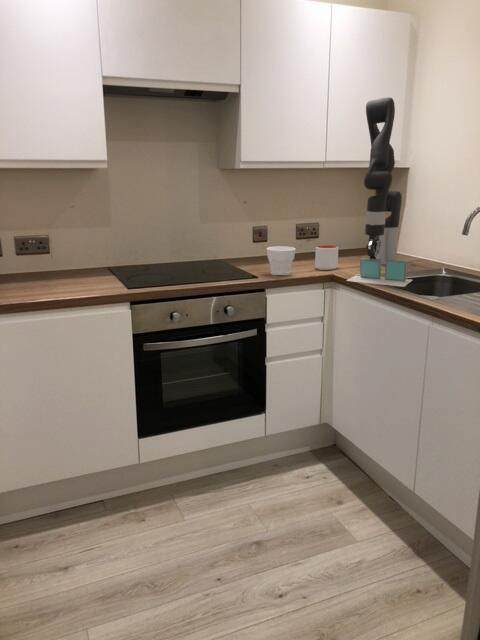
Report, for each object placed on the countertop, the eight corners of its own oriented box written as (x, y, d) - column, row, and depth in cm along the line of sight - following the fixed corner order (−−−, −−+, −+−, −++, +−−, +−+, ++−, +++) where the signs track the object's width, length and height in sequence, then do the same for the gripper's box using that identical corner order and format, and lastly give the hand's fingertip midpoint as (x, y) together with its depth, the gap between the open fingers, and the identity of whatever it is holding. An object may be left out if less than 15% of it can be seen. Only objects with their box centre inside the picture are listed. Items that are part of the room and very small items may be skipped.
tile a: (361, 275, 213) (361, 257, 210) (380, 277, 209) (380, 259, 206) (360, 277, 212) (360, 259, 208) (379, 279, 208) (379, 260, 204)
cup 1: (292, 277, 215) (293, 251, 212) (263, 276, 218) (263, 250, 215) (297, 271, 227) (297, 246, 224) (269, 270, 230) (269, 245, 226)
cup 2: (313, 270, 229) (314, 248, 226) (316, 266, 238) (317, 244, 236) (336, 271, 227) (337, 248, 224) (338, 267, 236) (339, 245, 233)
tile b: (385, 278, 208) (387, 259, 206) (405, 280, 205) (407, 260, 202) (384, 279, 207) (385, 260, 205) (404, 281, 203) (406, 261, 201)
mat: (357, 275, 218) (357, 274, 217) (412, 280, 206) (412, 279, 206) (345, 281, 206) (345, 280, 206) (404, 287, 195) (404, 286, 195)
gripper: (370, 221, 213) (368, 262, 218) (360, 224, 202) (358, 267, 207) (389, 221, 209) (386, 264, 214) (379, 224, 198) (376, 269, 203)
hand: (372, 265), depth 211 cm, fingers closed
